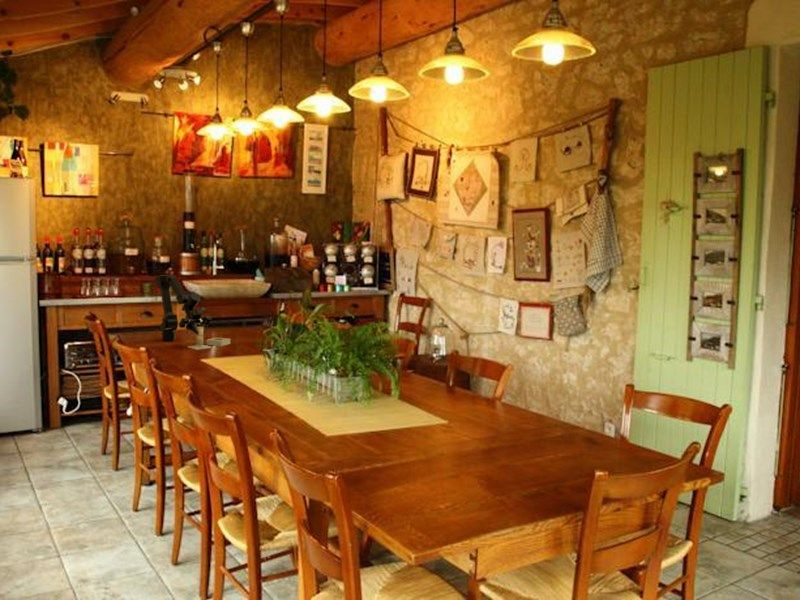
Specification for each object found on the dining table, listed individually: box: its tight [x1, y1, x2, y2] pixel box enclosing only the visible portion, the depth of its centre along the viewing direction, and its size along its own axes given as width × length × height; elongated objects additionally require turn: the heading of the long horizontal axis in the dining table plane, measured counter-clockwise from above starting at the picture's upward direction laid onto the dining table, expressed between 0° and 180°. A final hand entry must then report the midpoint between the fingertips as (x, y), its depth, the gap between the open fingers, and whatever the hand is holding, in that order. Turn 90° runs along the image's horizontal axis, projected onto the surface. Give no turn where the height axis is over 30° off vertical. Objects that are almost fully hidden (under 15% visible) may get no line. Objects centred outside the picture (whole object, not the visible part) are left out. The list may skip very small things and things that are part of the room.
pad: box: [186, 344, 213, 351], centre depth 443 cm, size 10×10×1 cm
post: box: [195, 326, 204, 345], centre depth 442 cm, size 4×4×10 cm
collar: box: [205, 337, 231, 347], centre depth 457 cm, size 10×10×3 cm
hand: (201, 333), depth 441 cm, fingers closed on post, 4 cm apart
